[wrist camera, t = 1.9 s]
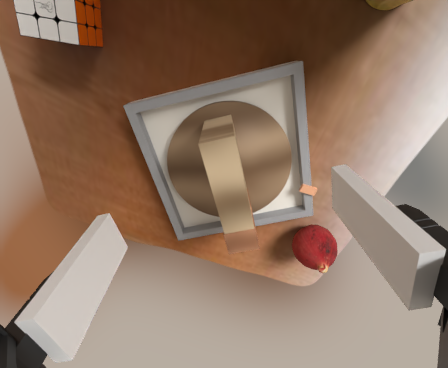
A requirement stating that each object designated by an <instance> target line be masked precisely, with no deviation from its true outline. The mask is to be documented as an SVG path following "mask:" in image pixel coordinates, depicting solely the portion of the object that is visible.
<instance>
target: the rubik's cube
mask: <svg viewBox="0 0 448 368" xmlns="http://www.w3.org/2000/svg"><path fill="white" fill-rule="evenodd" d="M13 1H14V6H15V11H16V15H17V20H18V25H19V30H20V35H22V36H28V37H33V38H39V39H45V40H51V41H57V42H63V43H68V44H74V45H81V46H95V47H103V37H102V22H101V10H100V9H101V8H100V0H13Z"/></svg>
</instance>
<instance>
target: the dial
mask: <svg viewBox="0 0 448 368" xmlns="http://www.w3.org/2000/svg"><path fill="white" fill-rule="evenodd" d="M291 165H292V153H291V147H290V143H289V140H288V138H287V136H286V134H285V132H284V130H283V129H282V127H281V126H280V125H279V123H278V122H277V121H276V120H275V119H274V118H273V117H272V116H271V115H270V114H268V113H267V112H266V111H264V110H263V109H261V108H259V107H257V106H255V105H252V104H250V103H246V102H241V101H219V102H214V103H211V104H208V105H205V106H203V107H201V108H199V109H197V110H196V111H194V112H193V113H191V114H190V115H189V116H188V117H187V118H185V119H184V121H183V122H182V123H181V124H180V125H179V127H178V128H177V130H176V131H175V133H174V135H173V137H172V139H171V141H170V145H169V148H168V154H167V167H168V173H169V177H170V180H171V182H172V184H173V186H174V188H175V189H176V191H177V193H178V194H179V195H180V196H181V197H182V198H183V199H184V200H185V201H186V202H187V203H188V204H189V205H191V206H192V207H194V208H195V209H197V210H199V211H201V212H203V213H206V214H209V215H212V216H217V217H220V221H221V224H222V228H223V235H224V239H225V242H226V245H227V249H228V252H229V254H234V253H239V252H245V251H251V250H256V249H260V248H259V243H258V237H257V232H256V227H255V222H254V217H253V213H254V212H256V211H258V210H260V209H262V208H264V207H265V206H267V205H268V204H269V203H271V202H272V201H273V200H274V199H275V198H276V197H277V196H278V195H279V194H280V192H281V191H282V190H283V188H284V186H285V184H286V183H287V180H288V178H289V175H290V171H291Z"/></svg>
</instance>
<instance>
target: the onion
mask: <svg viewBox="0 0 448 368" xmlns="http://www.w3.org/2000/svg"><path fill="white" fill-rule="evenodd" d="M292 248H293V252H294V255H295V257H296V258H297V259H298V260H299V261H300V262H301V263H302V264H303V265H304V266H306V267H308V268H311V269H315V270H319V272H321V273H326V272H327V270H328V268H329V266H331V265H332V263H333V262H334V261H335V258H336V256H337V243H336V240H335V238H334V237H333V235H332V234H331V233H330V232H329V230H328V229H325V228H323V227H321V226H319V225H309V226H306V227H303V228H302V229H300V230H299V231H298V232H297V233H296V234H295V236H294V238H293V242H292Z"/></svg>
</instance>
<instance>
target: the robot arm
mask: <svg viewBox="0 0 448 368" xmlns="http://www.w3.org/2000/svg"><path fill="white" fill-rule="evenodd" d="M331 174H332V208H333V210H334V211H335V212H336V214H337V215H338V216H339V218H340V219H341V220H342V222H343V223H344V224H345V226H346V227H347V228H348V230H349V231H350V232H351V234H352V235H353V236H354V238H355V239H356V240H357V242H358V243H359V244H360V246H361V247H362V249H363V250H364V251H365V253H366V254H367V255H368V257H369V258H370V259H371V261H372V262H373V263H374V265H375V266H376V267H377V269H378V270H379V271H380V273H381V274H382V275H383V277H384V278H385V279H386V281H387V282H388V283H389V285H390V286H391V287H392V289H393V290H394V291H395V293H396V294H397V295H398V297H399V298H400V299H401V301H402V302H403V303H404V305H405V306H406V307H407V309H408V310H414V309H421V308H428V307H431V306H432V302H433V298H434V296H435V297H436V298H437V299H438V300H439V302H440V303H441V304H442V305H443V309H442V313H441V316H440V320H439V323H438V325H439V326H441V328H440V342H439V355H438V367H437V368H448V231H447V230H445V229H444V228H443V227H441V226H439V225H438V224H437V223H436V222H435V221H433V220H432V219H430V218H429V217H428V216H427V215H426V214H424V213H423V212H422V211H420V210H419V209H416V208H414V207H411V206H409V205H407V204H404V205H399V206H394V205H393V204H392V203H391V202H390V201H388V200H387V199H386V198H385V197H384V196H383V195H381V194H380V193H379V192H378V191H377V190H375V189H374V188H373V187H372V186H371V185H370V184H368V183H367V182H366V181H365V180H364V179H362V178H361V177H360V176H359V175H358V174H356V173H355V172H354V171H353V170H352V169H351V168H349V167H348V166H347V165H346V164H344V165H339V166H335V167H331ZM127 248H128V246H127V245H126V243H125V241H124V239H123V237H122V235H121V234H120V232H119V230H118V228H117V226H116V224H115V222H114V221H113V219H112V217H111V215H110V213H108V214H103V215H99V216H97V217H96V218H95V220H94V221H93V222H92V224H91V225H90V226H89V227H88V229H87V230H86V231H85V233H84V234H83V235H82V236H81V238H80V239H79V240H78V241H77V243H76V244H75V245H74V247H73V248H72V249H71V250H70V252H69V253H68V254H67V256H66V257H65V258H64V259H63V261H62V262H61V263H60V264H59V266H58V267H57V268H56V269H55V271H53V272H52V273H51V274H50V275H49V276H48V277H47V278H46V279H44V281H43V282H42V283H41V284H40V285H39V286H38V288H37V289H36V291H35V292H34V293H33V294H32V295H31V296H30V299H29V300H28V301H26V303H25V304H24V305H23V306H22V308H21V309H20V310H19V312H18V313H17V314H16V315H15V316H14V318H13V319H12V320H11V322H10V323H9V324H8V325H7V327H6V328H4V327H3V326H2V325H0V368H46V367H45V366H44V365H43V364H42V363H43V361H44V360H45V358H46V356H47V355H48V356H49V357H50V358H51V359H52V360H53V361H54V362H55V363H57V362H64V361H71V360H73V358H74V356H75V354H76V352H77V350H78V348H79V346H80V344H81V342H82V340H83V338H84V336H85V334H86V332H87V330H88V328H89V326H90V324H91V322H92V319H93V318H94V316H95V313H96V311H97V309H98V307H99V305H100V303H101V301H102V299H103V297H104V295H105V293H106V291H107V289H108V287H109V285H110V283H111V281H112V279H113V277H114V275H115V273H116V271H117V269H118V267H119V265H120V263H121V260H122V258H123V256H124V254H125V252H126V251H127Z"/></svg>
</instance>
